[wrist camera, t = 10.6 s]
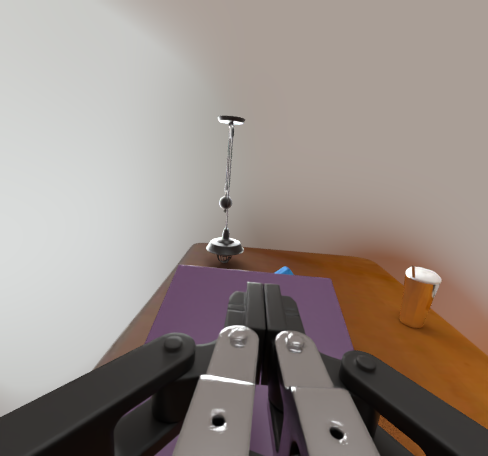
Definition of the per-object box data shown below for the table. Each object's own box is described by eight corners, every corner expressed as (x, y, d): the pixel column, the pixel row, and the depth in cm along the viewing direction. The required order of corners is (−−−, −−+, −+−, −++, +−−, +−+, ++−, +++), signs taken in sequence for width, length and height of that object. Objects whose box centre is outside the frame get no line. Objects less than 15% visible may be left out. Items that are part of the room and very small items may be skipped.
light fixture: (203, 253, 64) (209, 117, 57) (236, 253, 66) (247, 122, 59) (207, 270, 55) (215, 110, 48) (246, 269, 57) (260, 116, 50)
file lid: (179, 270, 24) (178, 264, 23) (328, 284, 24) (331, 278, 23) (59, 558, 10) (52, 553, 9) (426, 600, 10) (435, 597, 9)
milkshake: (384, 317, 43) (398, 260, 40) (406, 312, 45) (420, 257, 42) (411, 334, 39) (429, 272, 36) (433, 328, 41) (451, 268, 38)
